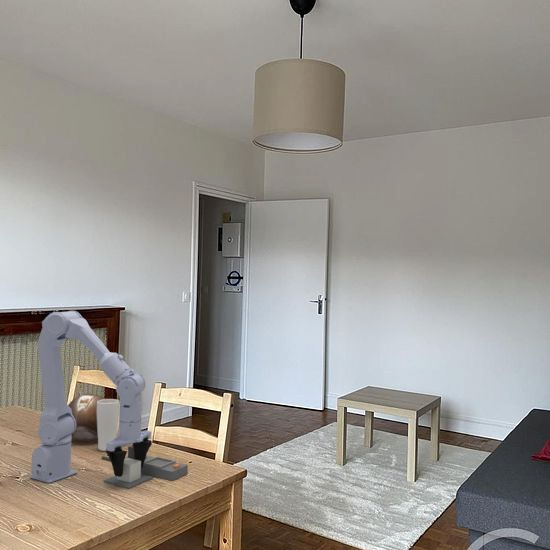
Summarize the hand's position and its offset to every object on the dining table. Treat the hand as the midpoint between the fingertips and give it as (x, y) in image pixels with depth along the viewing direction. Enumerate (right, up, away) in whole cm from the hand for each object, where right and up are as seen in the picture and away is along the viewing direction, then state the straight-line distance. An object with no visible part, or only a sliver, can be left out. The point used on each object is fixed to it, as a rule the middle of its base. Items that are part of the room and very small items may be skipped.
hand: (128, 471), depth 147 cm
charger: (0, -2, 0) cm, 2 cm away
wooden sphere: (-23, -3, +36) cm, 43 cm away
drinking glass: (-14, -3, +27) cm, 30 cm away
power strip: (0, -2, +10) cm, 10 cm away
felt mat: (0, -2, 0) cm, 2 cm away
